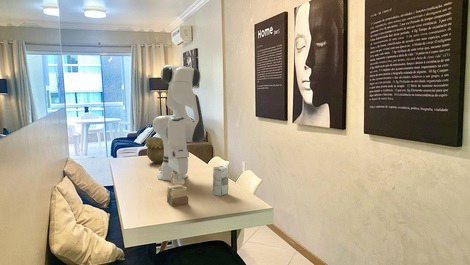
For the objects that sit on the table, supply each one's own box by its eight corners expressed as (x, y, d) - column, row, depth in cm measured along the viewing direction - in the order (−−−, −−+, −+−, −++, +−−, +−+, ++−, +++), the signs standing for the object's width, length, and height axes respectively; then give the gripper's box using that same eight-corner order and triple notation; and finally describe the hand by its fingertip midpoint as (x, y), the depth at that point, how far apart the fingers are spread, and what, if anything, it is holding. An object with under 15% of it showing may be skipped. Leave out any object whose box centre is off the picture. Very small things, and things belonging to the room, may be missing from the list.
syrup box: (220, 192, 190) (220, 165, 188) (228, 194, 186) (228, 166, 184) (212, 194, 185) (212, 166, 184) (221, 196, 181) (221, 168, 180)
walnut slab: (167, 202, 172) (166, 194, 171) (182, 200, 175) (182, 192, 175) (171, 207, 164) (171, 198, 164) (188, 204, 168) (188, 196, 168)
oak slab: (167, 194, 171) (167, 186, 170) (181, 192, 174) (181, 184, 174) (173, 198, 165) (173, 189, 164) (187, 196, 168) (187, 187, 168)
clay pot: (155, 159, 281) (154, 134, 279) (179, 161, 274) (178, 135, 272) (139, 164, 262) (139, 137, 260) (164, 166, 255) (164, 138, 252)
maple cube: (171, 182, 170) (170, 172, 169) (181, 181, 172) (181, 171, 171) (174, 184, 165) (173, 174, 165) (184, 183, 167) (184, 173, 167)
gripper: (165, 148, 175) (165, 175, 176) (176, 154, 156) (177, 185, 158) (177, 147, 177) (177, 174, 179) (190, 153, 159) (190, 184, 161)
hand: (177, 179), depth 168 cm, fingers closed on maple cube, 5 cm apart
